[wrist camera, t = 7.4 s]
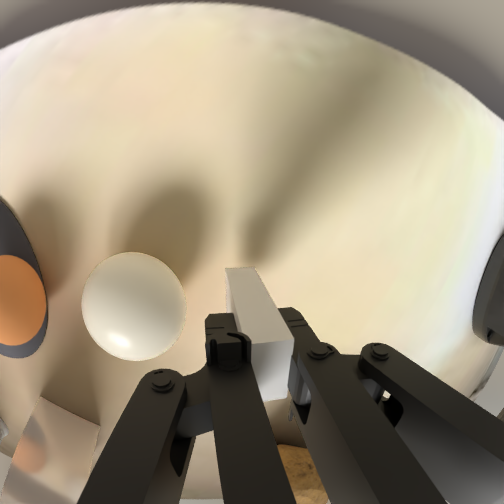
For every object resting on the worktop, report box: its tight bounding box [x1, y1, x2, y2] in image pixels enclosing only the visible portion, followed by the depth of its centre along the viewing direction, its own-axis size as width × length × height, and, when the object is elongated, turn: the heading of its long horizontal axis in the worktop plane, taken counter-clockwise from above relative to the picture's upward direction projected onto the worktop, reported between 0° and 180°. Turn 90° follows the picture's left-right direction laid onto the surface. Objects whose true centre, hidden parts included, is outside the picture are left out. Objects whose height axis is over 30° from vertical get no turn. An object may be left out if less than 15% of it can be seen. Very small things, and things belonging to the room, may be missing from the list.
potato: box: [277, 445, 329, 504], centre depth 19 cm, size 10×14×8 cm
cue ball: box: [82, 252, 187, 361], centre depth 12 cm, size 6×6×6 cm
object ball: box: [0, 255, 46, 345], centre depth 11 cm, size 6×6×6 cm
